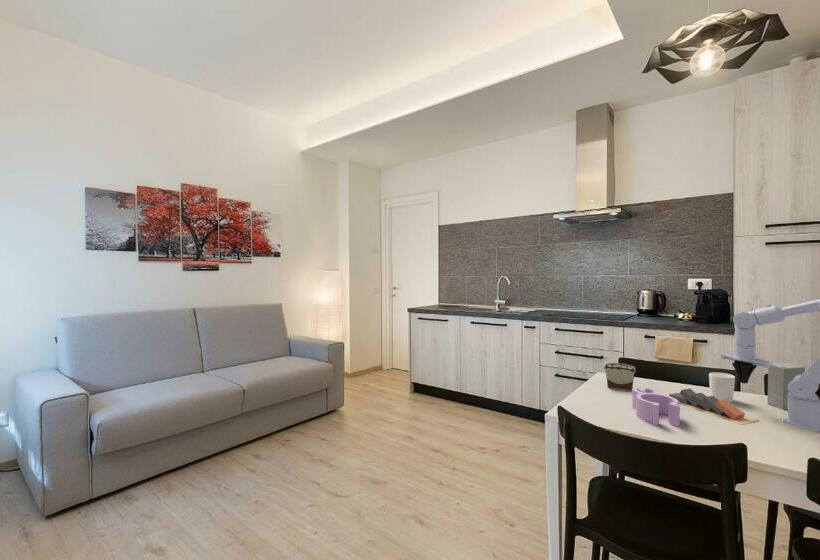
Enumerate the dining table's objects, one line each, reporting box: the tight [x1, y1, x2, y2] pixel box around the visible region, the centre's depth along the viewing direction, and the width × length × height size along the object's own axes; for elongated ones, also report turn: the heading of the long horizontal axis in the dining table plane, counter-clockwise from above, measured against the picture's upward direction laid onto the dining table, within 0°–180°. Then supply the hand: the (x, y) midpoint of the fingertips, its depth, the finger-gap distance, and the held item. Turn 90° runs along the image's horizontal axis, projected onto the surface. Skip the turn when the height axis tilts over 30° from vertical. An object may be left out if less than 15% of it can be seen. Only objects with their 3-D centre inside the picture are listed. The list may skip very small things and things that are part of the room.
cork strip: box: [678, 402, 760, 426], centre depth 142 cm, size 26×9×1 cm, turn 19°
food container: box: [603, 362, 637, 392], centre depth 171 cm, size 12×6×10 cm, turn 58°
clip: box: [631, 387, 681, 427], centre depth 139 cm, size 20×12×7 cm, turn 172°
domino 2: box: [679, 388, 701, 407], centre depth 149 cm, size 2×5×7 cm
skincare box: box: [767, 362, 806, 410], centre depth 145 cm, size 8×7×16 cm
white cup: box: [708, 372, 736, 404], centre depth 153 cm, size 8×8×10 cm
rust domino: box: [714, 399, 746, 420], centre depth 136 cm, size 2×5×7 cm
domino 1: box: [668, 392, 691, 404], centre depth 152 cm, size 2×5×7 cm
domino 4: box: [702, 395, 725, 415], centre depth 140 cm, size 2×5×7 cm
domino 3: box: [691, 392, 713, 411], centre depth 144 cm, size 2×5×7 cm
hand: (743, 382), depth 141 cm, fingers closed
